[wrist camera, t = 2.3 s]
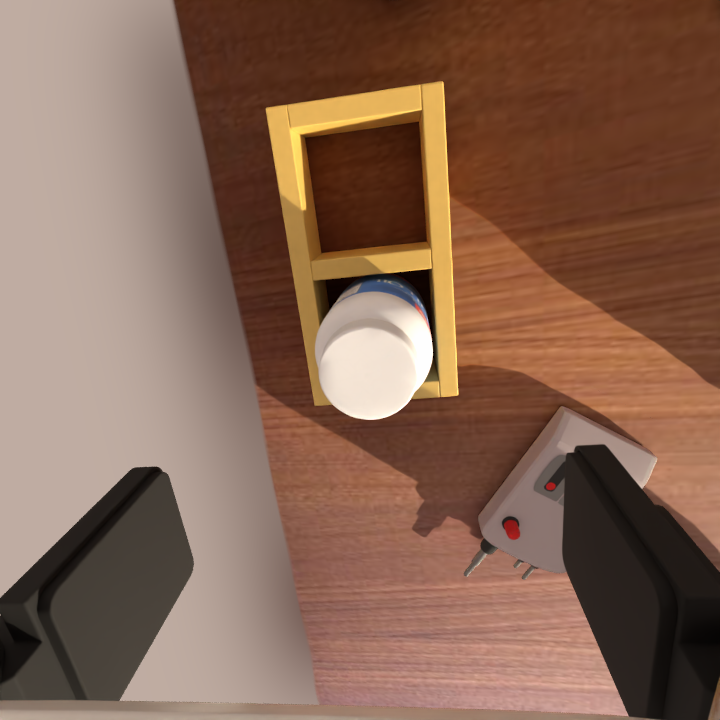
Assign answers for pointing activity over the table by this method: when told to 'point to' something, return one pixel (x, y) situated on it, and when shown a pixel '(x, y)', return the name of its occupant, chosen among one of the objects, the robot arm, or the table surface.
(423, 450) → the table surface
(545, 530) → the grey electronic device
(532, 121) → the table surface
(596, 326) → the table surface
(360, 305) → the pill bottle
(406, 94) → the bottle holder
